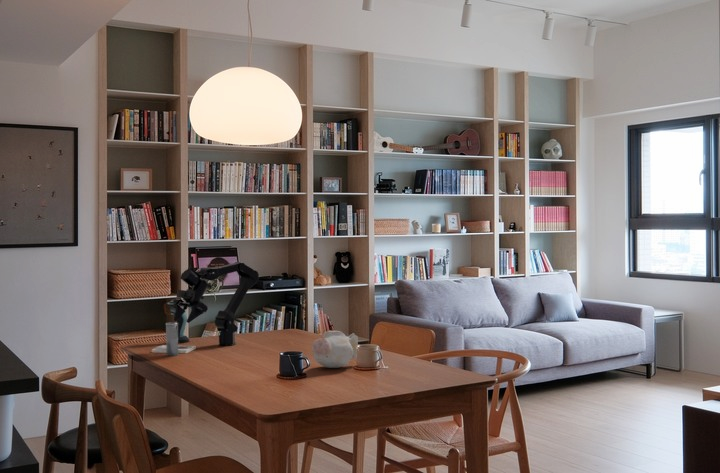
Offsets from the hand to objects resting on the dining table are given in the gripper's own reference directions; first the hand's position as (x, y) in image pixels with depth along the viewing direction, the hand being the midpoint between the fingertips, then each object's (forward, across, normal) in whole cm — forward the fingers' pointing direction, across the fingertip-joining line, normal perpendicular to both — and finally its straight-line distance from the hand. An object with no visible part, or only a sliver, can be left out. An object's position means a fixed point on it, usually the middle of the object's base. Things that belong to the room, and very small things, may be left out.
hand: (181, 321), depth 345 cm
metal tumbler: (+15, +3, +2) cm, 16 cm away
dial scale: (+10, -6, +9) cm, 15 cm away
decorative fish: (+3, +80, +20) cm, 82 cm away
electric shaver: (+1, -26, +22) cm, 34 cm away
